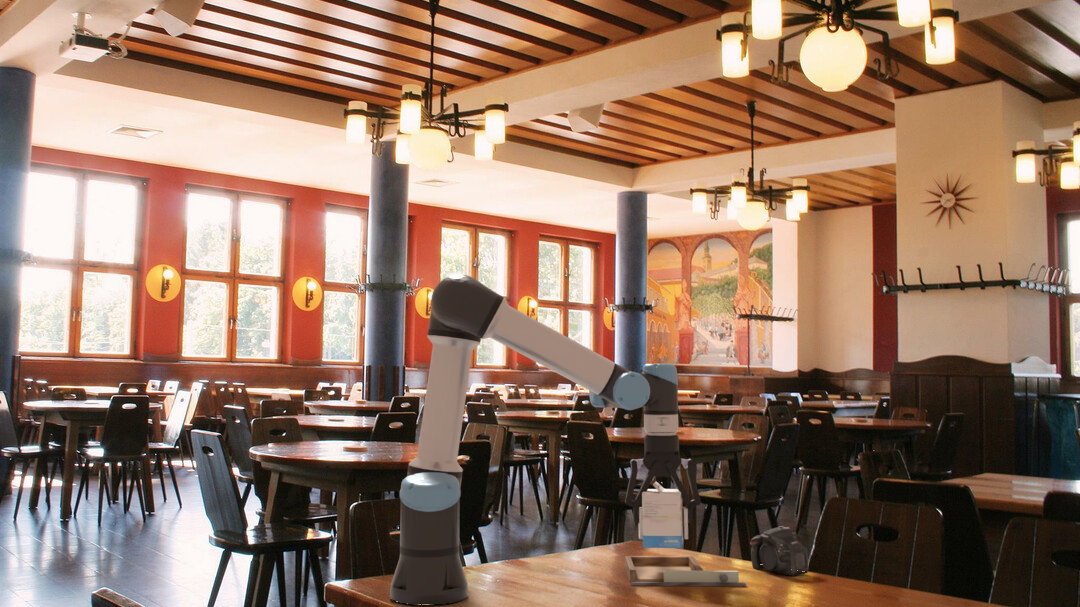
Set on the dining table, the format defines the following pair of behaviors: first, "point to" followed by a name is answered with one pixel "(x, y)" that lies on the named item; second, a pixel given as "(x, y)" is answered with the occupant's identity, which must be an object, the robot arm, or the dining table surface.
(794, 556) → the camera
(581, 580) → the dining table surface
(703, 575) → the cream rectangular bar
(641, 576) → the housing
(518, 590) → the dining table surface
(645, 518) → the ink box
